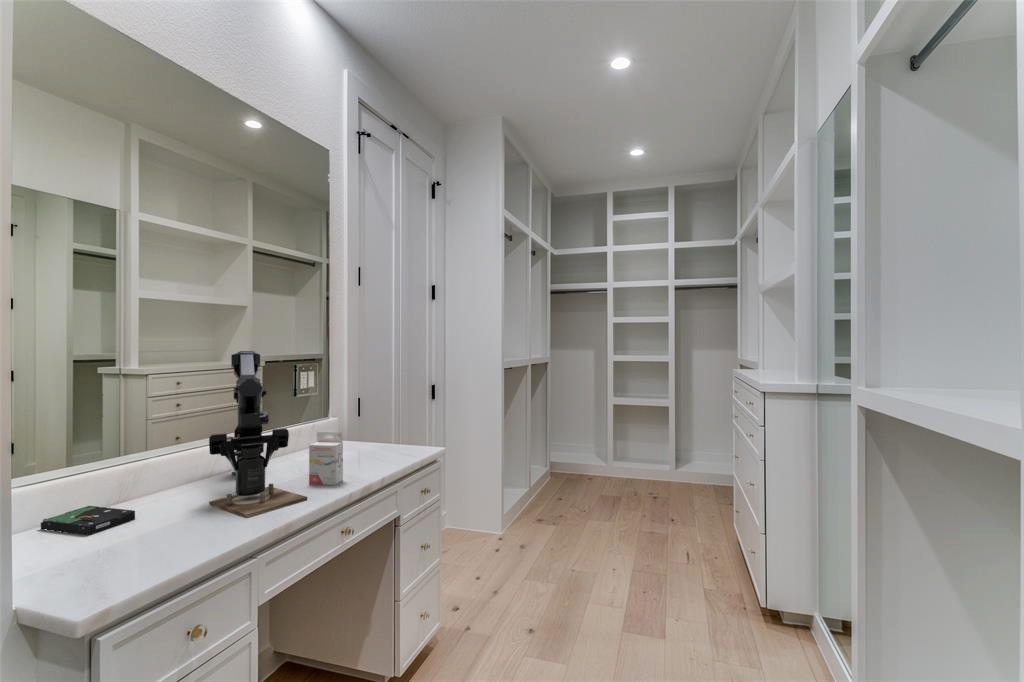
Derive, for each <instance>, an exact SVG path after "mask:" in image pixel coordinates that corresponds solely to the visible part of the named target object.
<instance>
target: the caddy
mask: <svg viewBox="0 0 1024 682" xmlns="http://www.w3.org/2000/svg"><path fill="white" fill-rule="evenodd" d="M274 485H275V484H274V483H269V484H268V486H265V490H264V492H261V493H260V494H257V495H252V496H239V495H237V494H234V495H233V494H232V493H229V494H226V495H225V497H222V498H218V499H215V500H210V501H208V505H209V506H212V507H214V508H218V509H220V510H223V511H226V512H228V513H231V514H234V515H237V516H240V517H243V518H246V519H247V518H251V517H255V516H257V515H260V514H261V515H262V514H264V513H267V512H271V511H274V510H278V509H280V508H281V509H282V508H284V507H287V506H291V505H294V504H298V503H300V502H304V501H308V496H306V495H303V494H298V493H295V492H291V491H288V490H284V489H281V488H277V487H275V486H274Z"/></svg>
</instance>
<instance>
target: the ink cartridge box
mask: <svg viewBox="0 0 1024 682" xmlns="http://www.w3.org/2000/svg"><path fill="white" fill-rule="evenodd" d="M327 436H332V437H327ZM308 446H309V447H308V449H309V451H308V453H309V458H308V484H309V485H330V486H331V485H332V486H336V485H338V484H340V483H341V482H343V480H344V464H343V463H344V457H343V455H344V442H343V433H342V432H339V431H337V432H336V431H316V441H315V442H313V443H310V444H309V445H308Z"/></svg>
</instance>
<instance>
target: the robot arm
mask: <svg viewBox="0 0 1024 682" xmlns="http://www.w3.org/2000/svg"><path fill="white" fill-rule="evenodd" d="M230 365H231V367H230V368H231V369H232V368H233V374H234V376H235V377H236V379H237V380H236V381H235V382H236V385H235V387H233V400H234V401H235V400H236V401H235V402H236V404H237V426H236V428H235V429H234V432H233V433H234V435H233V436H228V435H227V433H214V434H211V435H210V436H209V440H208V445H209V446H208V447H209V448H208V449H209V454H210V455H212V456H213V455H220V456H221V457H225V458H226V459H227V460H228V461H229V463H230V465H231V467H232V468H233V470H234V471H232V472H231V474H232V475H235V476H236V471H237V464H236V462H237V460H238V459H239V458H240V457H242V455H241V448H242V447H244V446H252V445H259V446H261V447H262V450H261V451H262V453H261V454H263V453H264V450H265V449H266V450H265V457H264V458H265V468H267V467H268V465H269V462H270V460H271V458H272V456H273V455H274V453H275V451H278V450H279V449H281V448H282V449H283V448H287V447H288V446H289V438H290V437H289V436H290V434H289V433H290V431H289V430H288V429H287V428H286V427H285V428H276V429H275V428H274V429H272V431H271V432H272V434H269V435H268V434H266V435H263V425H268V424H269V421H270V420H269V410H262V411H261V405H262V399H264V398H265V396H266V395H267V390H266V389H265V388H264V386H263V385H261V379H260V378H257V377H256V375H257V373H258V370H259V369H258V368H260V366H261V354H260V353H256V351H254V350H240V351H237V352H236V353H233V354H231V359H230ZM265 444H266V448H265V449H264V446H265Z"/></svg>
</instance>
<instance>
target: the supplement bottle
mask: <svg viewBox="0 0 1024 682" xmlns="http://www.w3.org/2000/svg"><path fill="white" fill-rule="evenodd" d="M261 450H262V447H261V446H259V445H252V446H244V447H242V448H241V455H242V457H240V458H239V459H238V460H237V459H236V464H237V471H236V475H235V495H239V496H252V495H257V494H260V493H261V492H264V490H265V487H266V467H265V457H264V456H263V455H262V454H263V453H262V451H261Z"/></svg>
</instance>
